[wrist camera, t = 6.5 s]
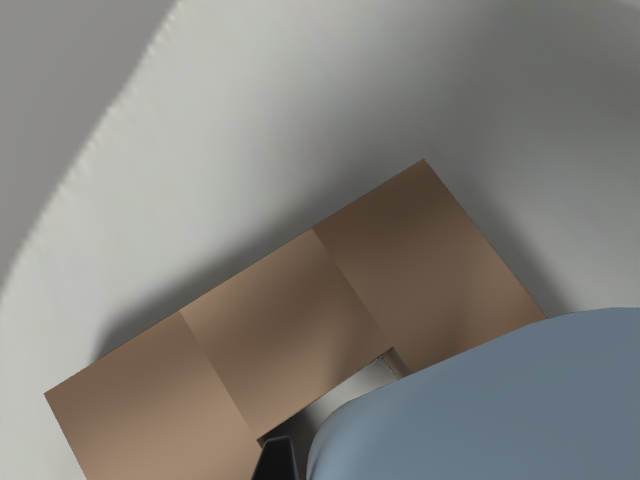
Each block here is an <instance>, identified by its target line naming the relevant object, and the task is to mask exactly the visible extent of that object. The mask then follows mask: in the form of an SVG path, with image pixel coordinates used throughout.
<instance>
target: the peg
mask: <svg viewBox="0 0 640 480" xmlns="http://www.w3.org/2000/svg"><path fill="white" fill-rule="evenodd" d="M306 480H640V308H606V309H598V310H590V311H582V312H574V313H568V314H565V315H561V316H557V317H553V318H550V319H546V320H542V321H538V322H535V323H531V324H528V325H526V326H524V327H521V328H519V329H517V330H514V331H512V332H510V333H507V334H505V335H503V336H500V337H498V338H495V339H493V340H491V341H488V342H486V343H484V344H481V345H479V346H477V347H474V348H472V349H470V350H467V351H465V352H463V353H460V354H458V355H456V356H453V357H451V358H449V359H446V360H444V361H442V362H439V363H437V364H435V365H432V366H430V367H428V368H425V369H423V370H421V371H418V372H416V373H414V374H411V375H409V376H407V377H404V378H402V379H400V380H397V381H395V382H393V383H390V384H388V385H386V386H383V387H381V388H379V389H376V390H374V391H372V392H369V393H367V394H365V395H362V396H360V397H358V398H355V399H353V400H351V401H348V402H347V403H345V404H343V405H342V406H340V407H339V408H337V409H336V410H335V411H334V412H332V414H331V415H330V416H329V417H328V418H327V419H326V420H325V421H324V423H323V424H322V425H321V427H320V428H319V430H318V432H317V433H316V435H315V437H314V440H313V442H312V445H311V448H310V452H309V455H308V462H307V478H306Z"/></svg>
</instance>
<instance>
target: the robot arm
mask: <svg viewBox="0 0 640 480" xmlns="http://www.w3.org/2000/svg"><path fill="white" fill-rule="evenodd" d="M251 480H299V476H298V470H297V465H296V460H295V455H294V450H293V444H292V440H291V437H290V436H288V435H285V436H280V437H275V438H270V439H268V440H267V441H266V442H265V444H264V446H263V449H262V451H261V454H260V456H259V459H258V462H257V464H256V467H255V469H254V472H253V475H252V477H251Z"/></svg>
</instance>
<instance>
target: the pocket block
mask: <svg viewBox="0 0 640 480" xmlns="http://www.w3.org/2000/svg"><path fill="white" fill-rule="evenodd" d="M546 319H548V318H547V317H546V316H545V314H544V313H543V312H542V310H541V309H540V308H539V307H538V305H537V304H536V303H535V301H534V300H533V299H532V298H531V296H530V295H529V294H528V292H527V291H526V290H525V289H524V287H523V286H522V285H521V283H520V282H519V281H518V279H517V278H516V277H515V276H514V274H513V273H512V272H511V270H510V269H509V268H508V267H507V265H506V264H505V263H504V261H503V260H502V259H501V258H500V256H499V255H498V254H497V252H496V251H495V250H494V249H493V247H492V246H491V245H490V243H489V242H488V241H487V239H486V238H485V237H484V236H483V234H482V233H481V232H480V230H479V229H478V228H477V227H476V225H475V224H474V223H473V221H472V220H471V219H470V218H469V216H468V215H467V214H466V212H465V211H464V210H463V208H462V207H461V206H460V205H459V203H458V202H457V201H456V199H455V198H454V197H453V196H452V194H451V193H450V192H449V190H448V189H447V188H446V187H445V185H444V184H443V183H442V181H441V180H440V179H439V178H438V176H437V175H436V174H435V172H434V171H433V170H432V168H431V167H430V166H429V165H428V163H427V162H426V161H425V159H422V160H421V161H419V162H417V163H416V164H414V165H413V166H411V167H409V168H408V169H406V170H404V171H403V172H401V173H400V174H398V175H396V176H395V177H393V178H391V179H390V180H388V181H387V182H385V183H383V184H382V185H380V186H379V187H377V188H375V189H374V190H372V191H370V192H369V193H367V194H366V195H364V196H362V197H361V198H359V199H358V200H356V201H354V202H353V203H351V204H349V205H348V206H346V207H345V208H343V209H341V210H340V211H338V212H337V213H335V214H333V215H332V216H330V217H328V218H327V219H325V220H324V221H322V222H320V223H319V224H317V225H316V226H314V227H312V228H311V229H309V230H307V231H306V232H304V233H303V234H301V235H299V236H298V237H296V238H294V239H293V240H291V241H290V242H288V243H286V244H285V245H283V246H282V247H280V248H278V249H277V250H275V251H273V252H272V253H270V254H269V255H267V256H265V257H264V258H262V259H261V260H259V261H257V262H256V263H254V264H252V265H251V266H249V267H248V268H246V269H244V270H243V271H241V272H240V273H238V274H236V275H235V276H233V277H231V278H230V279H228V280H227V281H225V282H223V283H222V284H220V285H219V286H217V287H215V288H214V289H212V290H210V291H209V292H207V293H206V294H204V295H202V296H201V297H199V298H197V299H196V300H194V301H193V302H191V303H189V304H188V305H186V306H185V307H183V308H181V309H180V310H178V311H176V312H175V313H173V314H172V315H170V316H168V317H167V318H165V319H164V320H162V321H160V322H159V323H157V324H155V325H154V326H152V327H151V328H149V329H147V330H146V331H144V332H143V333H141V334H139V335H138V336H136V337H134V338H133V339H131V340H130V341H128V342H126V343H125V344H123V345H122V346H120V347H118V348H117V349H115V350H113V351H112V352H110V353H109V354H107V355H105V356H104V357H102V358H100V359H99V360H97V361H96V362H94V363H92V364H91V365H89V366H88V367H86V368H84V369H83V370H81V371H79V372H78V373H76V374H75V375H73V376H71V377H70V378H68V379H67V380H65V381H63V382H62V383H60V384H58V385H57V386H55V387H54V388H52V389H50V390H49V391H47V392H46V393H44V395H45V397H46V399H47V401H48V403H49V405H50V407H51V409H52V411H53V413H54V415H55V417H56V419H57V421H58V423H59V425H60V427H61V429H62V431H63V433H64V435H65V437H66V439H67V441H68V443H69V445H70V447H71V449H72V451H73V453H74V455H75V457H76V459H77V461H78V463H79V465H80V467H81V469H82V471H83V473H84V475H85V477H86V479H87V480H251V477H252V475H253V472H254V469H255V467H256V464H257V462H258V459H259V456H260V454H261V451H262V449H263V446H264V444H265V442H266V441H265V439H264V438H263V436H265V435H266V434H268V433H269V432H271V431H272V430H273V429H275V428H276V427H278V426H279V425H281V424H282V423H284V422H285V421H287V420H288V419H289V418H291V417H292V416H294V415H295V414H297V413H298V412H300V411H301V410H303V409H304V408H306V407H307V406H308V405H310V404H311V403H313V402H314V401H316V400H317V399H319V398H320V397H322V396H323V395H325V394H326V393H327V392H329V391H330V390H332V389H333V388H335V387H336V386H338V385H339V384H341V383H342V382H344V381H345V380H346V379H348V378H349V377H351V376H352V375H354V374H355V373H357V372H358V371H360V370H361V369H363V368H364V367H365V366H367V365H368V364H370V363H371V362H373V361H374V360H376V359H377V358H379V357H380V356H382V355H383V357H384V358H385V360H386V361H387V363H388V364H389V366H390V367H391V369H392V370H393V372H394V373H395V375H396V376H397V377H398V379H399V380H400V379H402V378H404V377H407V376H409V375H411V374H414V373H416V372H418V371H421V370H423V369H425V368H428V367H430V366H432V365H435V364H437V363H439V362H442V361H444V360H446V359H449V358H451V357H453V356H456V355H458V354H460V353H463V352H465V351H467V350H470V349H472V348H474V347H477V346H479V345H481V344H484V343H486V342H488V341H491V340H493V339H495V338H498V337H500V336H503V335H505V334H507V333H510V332H512V331H514V330H517V329H519V328H521V327H524V326H526V325H528V324H531V323H535V322H538V321H542V320H546Z"/></svg>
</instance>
